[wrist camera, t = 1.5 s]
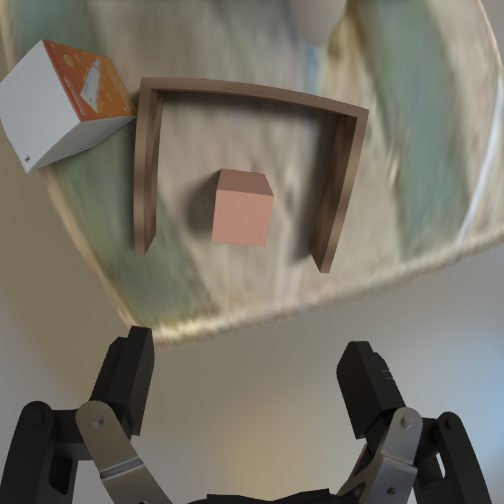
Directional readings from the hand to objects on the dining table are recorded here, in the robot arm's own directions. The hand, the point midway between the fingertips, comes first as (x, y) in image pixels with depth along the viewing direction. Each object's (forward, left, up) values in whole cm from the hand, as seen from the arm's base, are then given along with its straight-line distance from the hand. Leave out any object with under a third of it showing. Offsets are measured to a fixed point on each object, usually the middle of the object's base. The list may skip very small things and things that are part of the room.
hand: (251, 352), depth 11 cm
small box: (-9, -16, -22) cm, 29 cm away
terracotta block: (0, 0, -22) cm, 22 cm away
